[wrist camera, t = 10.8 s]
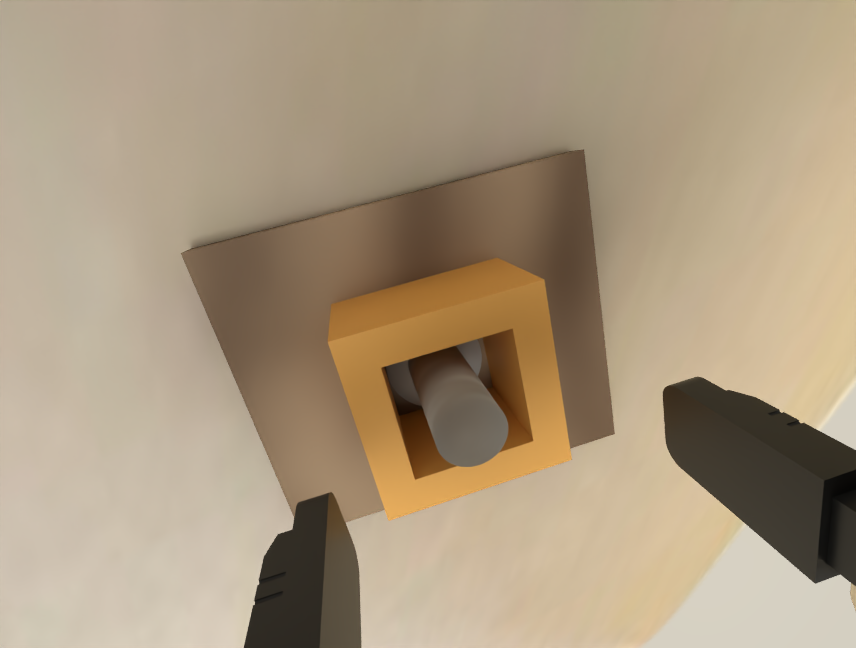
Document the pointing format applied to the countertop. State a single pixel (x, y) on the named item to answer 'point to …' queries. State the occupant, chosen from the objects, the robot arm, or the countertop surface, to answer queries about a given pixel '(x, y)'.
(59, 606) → the countertop surface
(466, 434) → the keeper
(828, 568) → the robot arm
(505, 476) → the orange square frame
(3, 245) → the countertop surface
